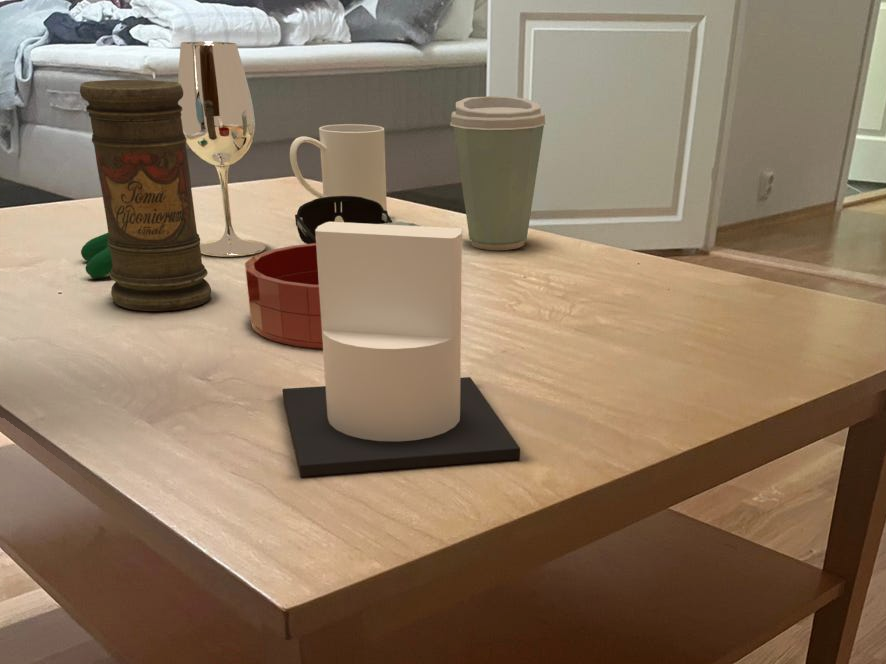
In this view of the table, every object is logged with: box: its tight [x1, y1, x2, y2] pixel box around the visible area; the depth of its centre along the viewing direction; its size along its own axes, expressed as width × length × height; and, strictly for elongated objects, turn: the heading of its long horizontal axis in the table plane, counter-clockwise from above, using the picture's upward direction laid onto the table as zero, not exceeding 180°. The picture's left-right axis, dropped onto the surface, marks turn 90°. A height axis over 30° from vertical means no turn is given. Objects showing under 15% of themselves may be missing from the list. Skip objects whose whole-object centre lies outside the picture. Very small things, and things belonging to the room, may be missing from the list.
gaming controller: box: [80, 232, 113, 280], centre depth 103 cm, size 9×4×6 cm
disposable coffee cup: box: [449, 95, 547, 251], centre depth 113 cm, size 11×11×15 cm
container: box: [79, 79, 212, 312], centre depth 90 cm, size 9×9×18 cm
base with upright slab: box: [315, 222, 463, 442], centre depth 65 cm, size 9×9×12 cm
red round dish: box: [244, 243, 323, 350], centre depth 88 cm, size 17×17×5 cm
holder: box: [281, 376, 521, 477], centre depth 68 cm, size 14×14×1 cm
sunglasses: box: [294, 196, 393, 244], centre depth 111 cm, size 10×12×5 cm
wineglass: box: [177, 41, 266, 258], centre depth 107 cm, size 8×8×20 cm
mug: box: [289, 123, 388, 222], centre depth 124 cm, size 12×8×10 cm, turn 123°
